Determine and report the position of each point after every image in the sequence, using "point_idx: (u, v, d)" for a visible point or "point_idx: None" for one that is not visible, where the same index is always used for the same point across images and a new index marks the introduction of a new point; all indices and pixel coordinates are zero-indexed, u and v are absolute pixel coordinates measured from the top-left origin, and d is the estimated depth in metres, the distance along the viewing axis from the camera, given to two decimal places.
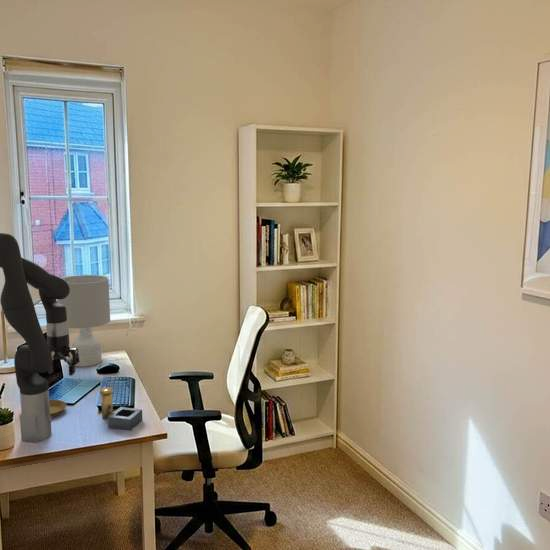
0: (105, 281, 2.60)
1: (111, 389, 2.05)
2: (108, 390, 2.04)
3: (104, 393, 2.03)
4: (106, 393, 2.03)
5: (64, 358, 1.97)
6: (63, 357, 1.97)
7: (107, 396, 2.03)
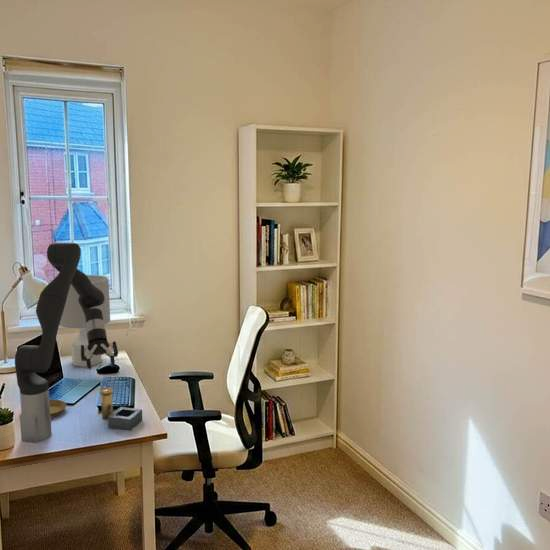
0: (105, 281, 2.60)
1: (111, 389, 2.05)
2: (108, 390, 2.04)
3: (104, 393, 2.03)
4: (106, 393, 2.03)
5: (106, 349, 2.18)
6: (105, 348, 2.18)
7: (107, 396, 2.03)
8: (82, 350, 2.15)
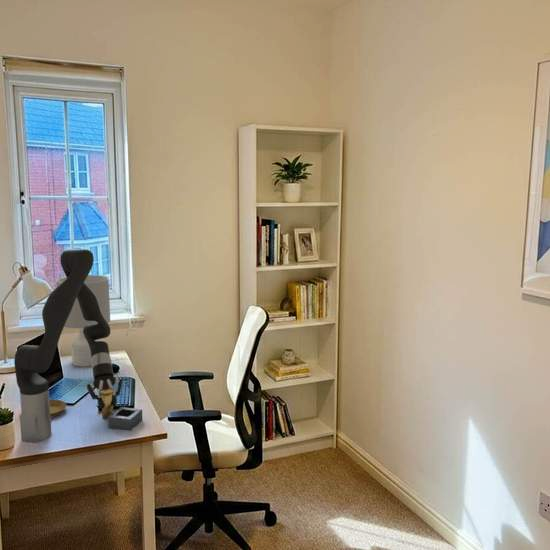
0: (105, 281, 2.60)
1: (111, 389, 2.05)
2: (108, 390, 2.04)
3: (104, 393, 2.03)
4: (106, 393, 2.03)
5: (111, 386, 2.08)
6: (110, 385, 2.08)
7: (107, 396, 2.03)
8: (90, 389, 2.05)
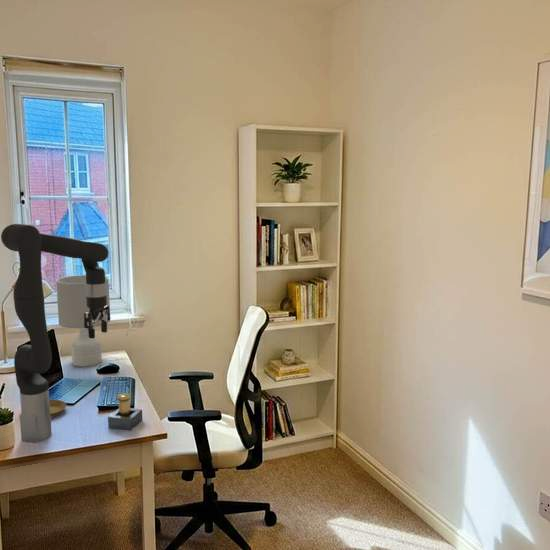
0: (105, 281, 2.60)
1: (129, 395, 2.00)
2: (126, 396, 1.99)
3: (122, 399, 1.97)
4: (124, 399, 1.97)
5: (105, 316, 2.11)
6: (104, 315, 2.11)
7: (125, 402, 1.98)
8: (90, 319, 2.02)
